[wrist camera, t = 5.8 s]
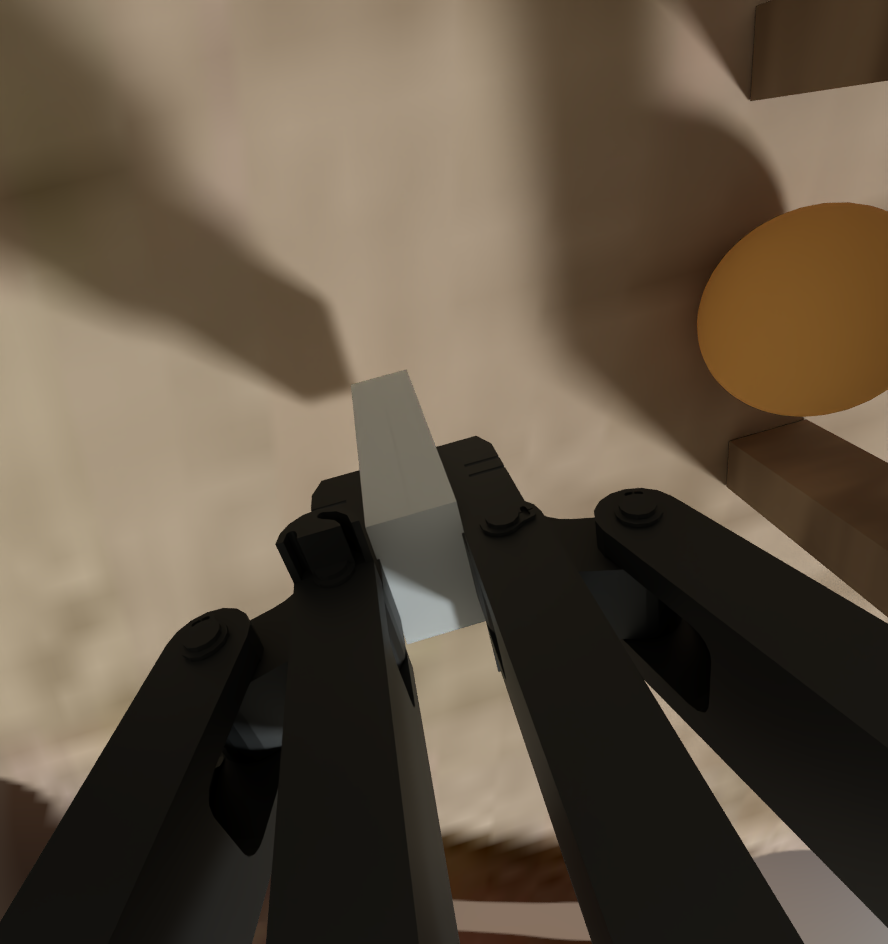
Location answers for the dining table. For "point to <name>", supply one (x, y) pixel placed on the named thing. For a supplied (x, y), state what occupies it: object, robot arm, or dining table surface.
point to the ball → (802, 312)
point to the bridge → (804, 443)
